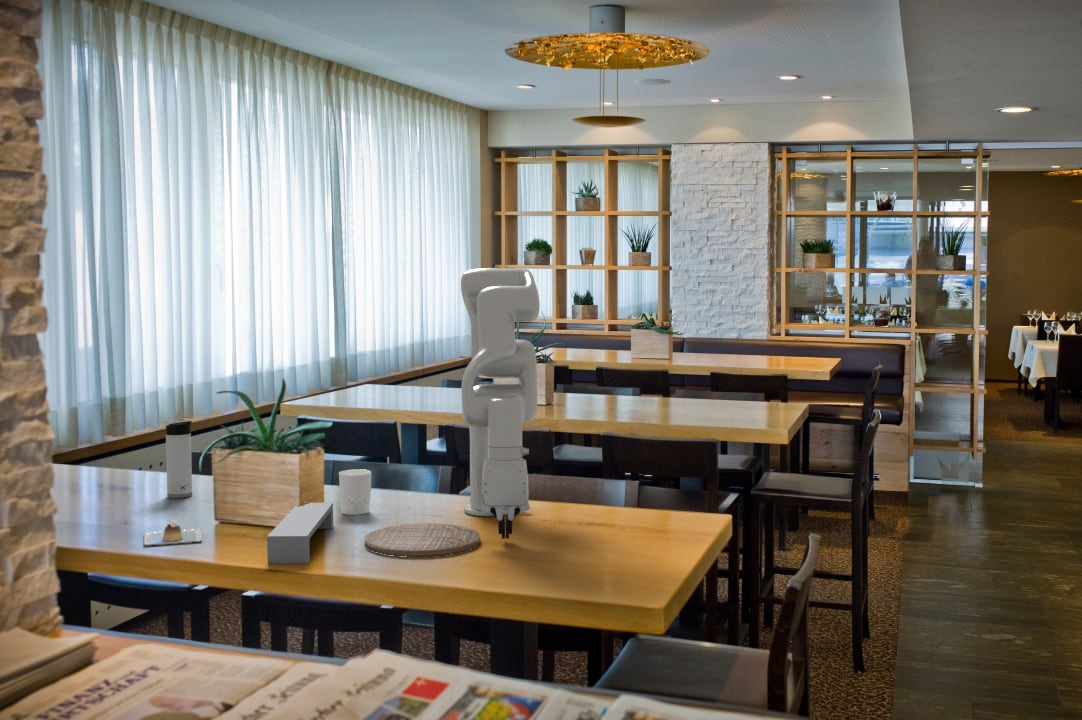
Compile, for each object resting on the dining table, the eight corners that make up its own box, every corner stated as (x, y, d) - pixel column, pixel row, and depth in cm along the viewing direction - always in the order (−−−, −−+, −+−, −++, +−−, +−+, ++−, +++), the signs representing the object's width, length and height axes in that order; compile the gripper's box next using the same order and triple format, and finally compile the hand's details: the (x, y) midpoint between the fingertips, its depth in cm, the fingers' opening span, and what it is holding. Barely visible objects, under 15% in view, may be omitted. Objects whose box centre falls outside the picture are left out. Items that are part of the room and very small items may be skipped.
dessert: (144, 537, 248) (143, 516, 247) (200, 533, 252) (199, 512, 251) (144, 549, 236) (143, 527, 236) (202, 545, 240) (202, 523, 240)
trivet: (375, 531, 253) (375, 523, 253) (484, 532, 252) (484, 523, 252) (354, 558, 228) (354, 549, 228) (474, 560, 227) (474, 551, 227)
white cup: (368, 515, 267) (368, 475, 267) (336, 515, 268) (335, 475, 267) (374, 509, 275) (373, 469, 275) (342, 508, 275) (342, 469, 275)
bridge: (333, 526, 256) (333, 502, 256) (307, 563, 223) (306, 536, 223) (298, 526, 256) (298, 502, 255) (267, 563, 223) (267, 536, 222)
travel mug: (189, 498, 288) (187, 422, 286) (163, 498, 288) (161, 422, 286) (196, 494, 294) (195, 419, 293) (172, 494, 294) (170, 419, 293)
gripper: (538, 451, 243) (539, 533, 244) (471, 451, 243) (471, 533, 244) (539, 456, 236) (540, 541, 237) (470, 456, 235) (470, 541, 236)
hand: (505, 537), depth 240 cm, fingers closed
